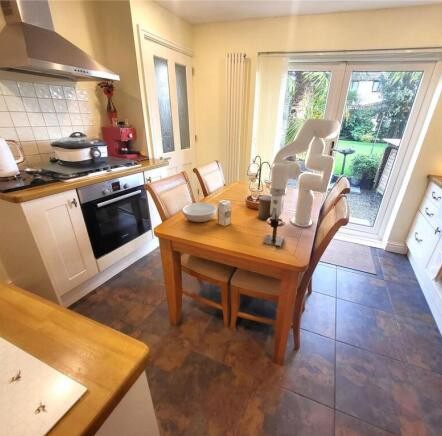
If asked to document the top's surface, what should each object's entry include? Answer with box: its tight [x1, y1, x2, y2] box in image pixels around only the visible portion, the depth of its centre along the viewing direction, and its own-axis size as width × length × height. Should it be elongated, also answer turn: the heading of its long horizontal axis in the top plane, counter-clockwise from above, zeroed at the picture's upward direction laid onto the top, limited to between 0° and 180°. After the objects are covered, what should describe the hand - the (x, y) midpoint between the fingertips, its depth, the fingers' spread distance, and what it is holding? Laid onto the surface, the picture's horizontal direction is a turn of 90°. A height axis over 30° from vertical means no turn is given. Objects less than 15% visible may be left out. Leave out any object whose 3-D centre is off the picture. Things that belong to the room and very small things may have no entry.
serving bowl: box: [182, 201, 218, 223], centre depth 145 cm, size 21×21×7 cm
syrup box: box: [217, 199, 232, 227], centre depth 137 cm, size 6×6×14 cm
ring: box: [266, 217, 286, 228], centre depth 118 cm, size 9×9×2 cm
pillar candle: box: [257, 194, 272, 222], centre depth 148 cm, size 10×10×15 cm
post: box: [263, 227, 284, 249], centre depth 121 cm, size 9×9×13 cm
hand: (274, 225), depth 116 cm, fingers closed on ring, 2 cm apart
